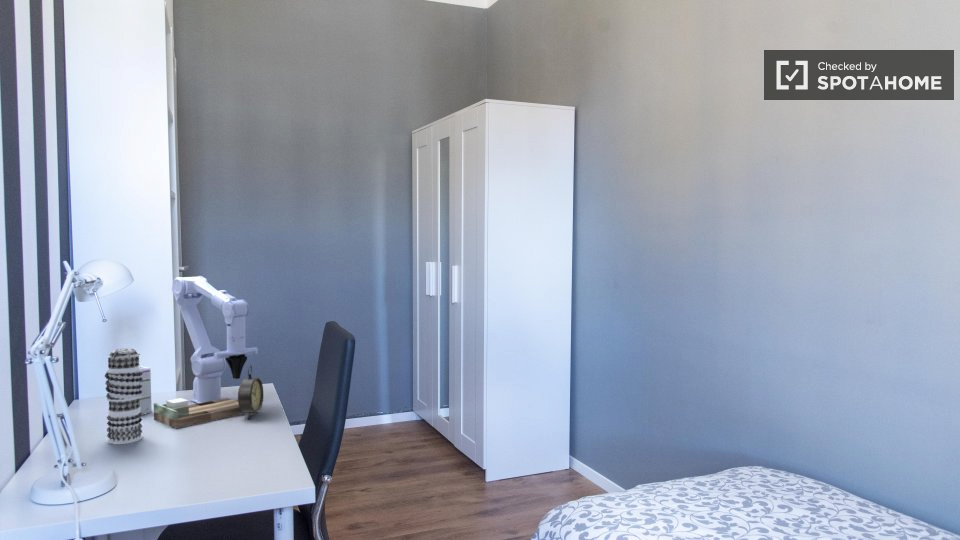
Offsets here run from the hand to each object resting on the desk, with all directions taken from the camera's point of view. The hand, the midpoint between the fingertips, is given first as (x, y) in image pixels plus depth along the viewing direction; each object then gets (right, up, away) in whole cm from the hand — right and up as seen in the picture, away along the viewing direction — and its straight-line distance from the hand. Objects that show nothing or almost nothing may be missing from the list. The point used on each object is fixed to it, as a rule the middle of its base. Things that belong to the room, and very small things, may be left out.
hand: (236, 378), depth 216 cm
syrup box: (-29, -10, -7) cm, 31 cm away
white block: (-12, -8, -16) cm, 21 cm away
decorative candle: (-18, -12, -34) cm, 40 cm away
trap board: (-7, -10, -9) cm, 16 cm away
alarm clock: (+7, -11, -8) cm, 16 cm away
